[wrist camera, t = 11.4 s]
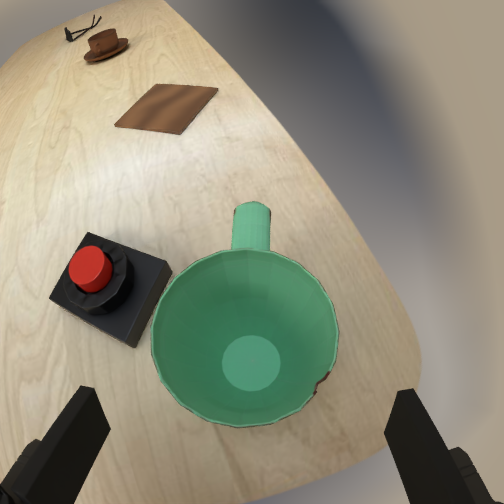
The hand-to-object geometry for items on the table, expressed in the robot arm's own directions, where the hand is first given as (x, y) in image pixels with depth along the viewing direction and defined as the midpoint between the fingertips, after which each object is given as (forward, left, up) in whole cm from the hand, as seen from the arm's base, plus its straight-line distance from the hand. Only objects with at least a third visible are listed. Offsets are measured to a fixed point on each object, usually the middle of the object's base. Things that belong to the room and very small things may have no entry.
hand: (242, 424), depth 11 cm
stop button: (+16, -6, -8) cm, 19 cm away
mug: (+2, -7, -12) cm, 14 cm away
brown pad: (+26, -34, -12) cm, 44 cm away
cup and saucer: (+59, -56, -12) cm, 82 cm away
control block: (+16, -6, -12) cm, 21 cm away
